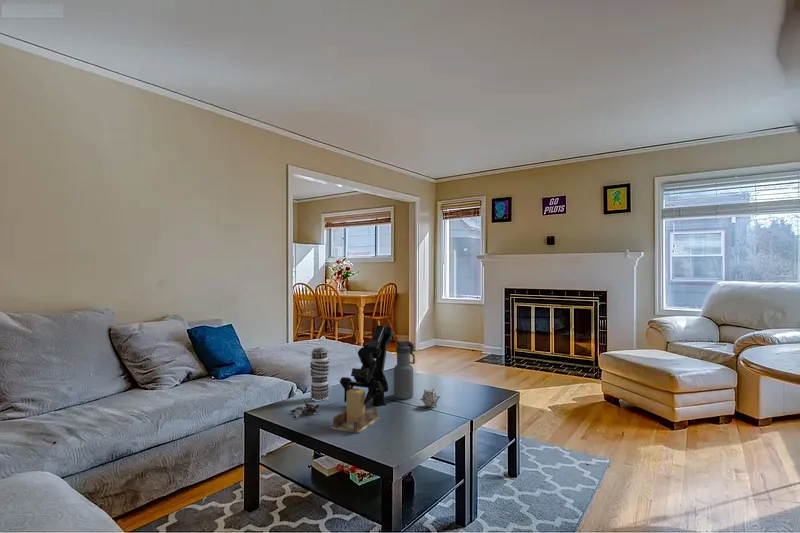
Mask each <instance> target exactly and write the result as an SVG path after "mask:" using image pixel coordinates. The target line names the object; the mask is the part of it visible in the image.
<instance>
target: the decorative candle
mask: <svg viewBox="0 0 800 533" xmlns="http://www.w3.org/2000/svg"><path fill="white" fill-rule="evenodd" d="M329 360H330V359H329V358H328V350H327V349H326V348H325V347H316V348H313V349H312V350H311V362H310V366H309V367H310V376H311V385H310V387H311V388H310V390H311V392H310V398H313V399H315V400H323V399H327V398H328V399H329V396H330V394H329V384H328V383H329V381H328V375H329V372H328V371H329V365H328V364H329V363H330V361H329ZM328 399H327V400H328Z"/></svg>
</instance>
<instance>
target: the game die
mask: <svg viewBox="0 0 800 533" xmlns="http://www.w3.org/2000/svg"><path fill="white" fill-rule="evenodd" d="M439 398H441V396H438V394H437V393H436V392H435V388H433V389H432V390H431V389H430V390H426V389H423V394H422V397H421V398H420V399H419V401H422V402H423V403H424V405H425V406H426V407H425V409H427V408H428V407H435V408H438V407H437V403H438V401H439Z"/></svg>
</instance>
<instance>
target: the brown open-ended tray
mask: <svg viewBox="0 0 800 533" xmlns="http://www.w3.org/2000/svg"><path fill="white" fill-rule="evenodd" d="M378 411H379V410H378V407H377V406H375V407H372V408H371V409H369V410H368V411H367V412H365V414H363V415H362V416H360V417H359V418H357V419H356V420H354V424H353V423H347V409H345V410H343V411H342V412H340V413H338V414H337V415H335V416H334V417H333V418H332V425H333V426H331V427H330V429H331V428H332V430H336V429H337V431H342V430H343V431H342V432H349V433H355V434H361V433H362V432H364V431H365V430H366V429H368V428H369V427H370V426H372V425H373V424H374V423H376V422H377V421H379V420H380V416H379V415H378V413H379V412H378Z"/></svg>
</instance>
